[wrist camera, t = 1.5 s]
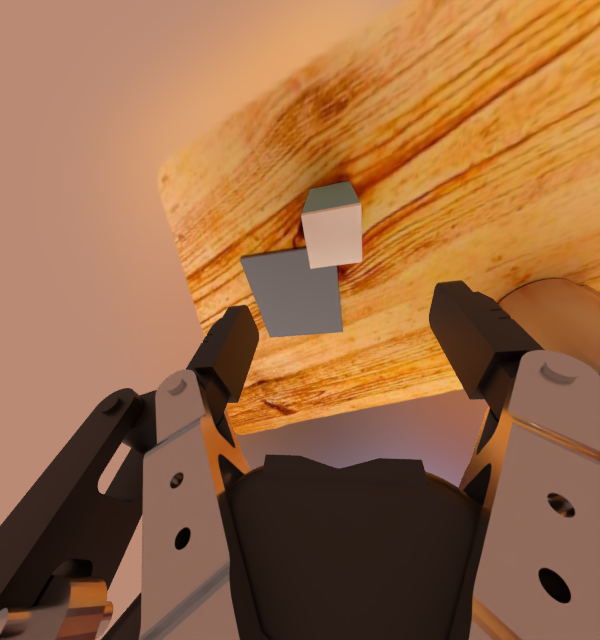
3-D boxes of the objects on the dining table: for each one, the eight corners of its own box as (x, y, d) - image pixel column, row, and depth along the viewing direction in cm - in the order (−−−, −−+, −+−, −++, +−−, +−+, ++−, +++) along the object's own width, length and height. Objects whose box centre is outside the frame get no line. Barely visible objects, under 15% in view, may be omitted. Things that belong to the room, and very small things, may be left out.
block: (349, 180, 22) (361, 204, 14) (350, 222, 24) (362, 261, 16) (309, 189, 22) (301, 215, 15) (315, 228, 25) (310, 268, 17)
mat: (334, 243, 26) (334, 244, 25) (342, 329, 34) (342, 331, 34) (241, 257, 28) (239, 259, 28) (270, 335, 37) (270, 337, 36)
